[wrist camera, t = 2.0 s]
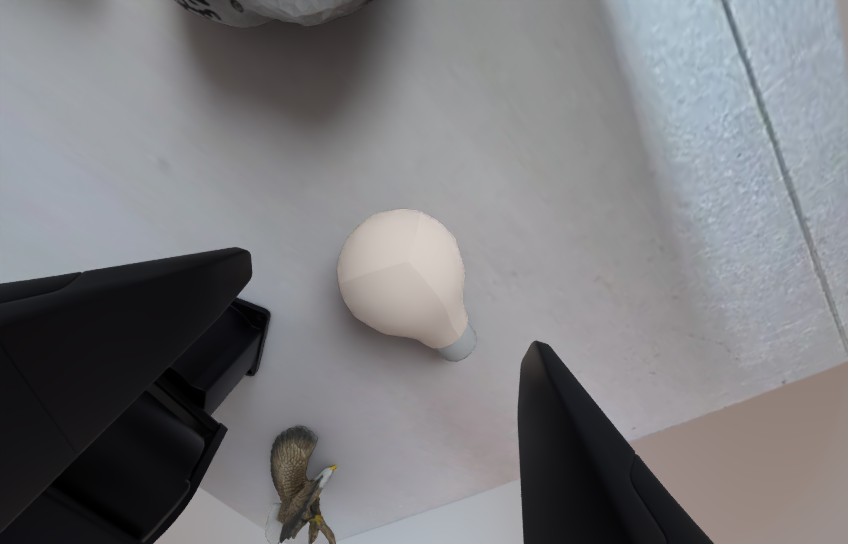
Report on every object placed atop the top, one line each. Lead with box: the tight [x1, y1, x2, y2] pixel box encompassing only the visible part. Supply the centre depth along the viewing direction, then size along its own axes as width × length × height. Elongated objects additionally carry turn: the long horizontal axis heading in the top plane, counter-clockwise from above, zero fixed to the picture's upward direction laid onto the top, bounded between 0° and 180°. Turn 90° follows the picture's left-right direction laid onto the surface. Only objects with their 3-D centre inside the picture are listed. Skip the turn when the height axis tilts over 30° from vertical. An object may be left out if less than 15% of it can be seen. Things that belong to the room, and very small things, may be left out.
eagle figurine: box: [265, 426, 337, 544], centre depth 26 cm, size 8×7×9 cm
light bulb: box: [337, 209, 477, 362], centre depth 17 cm, size 7×7×11 cm
